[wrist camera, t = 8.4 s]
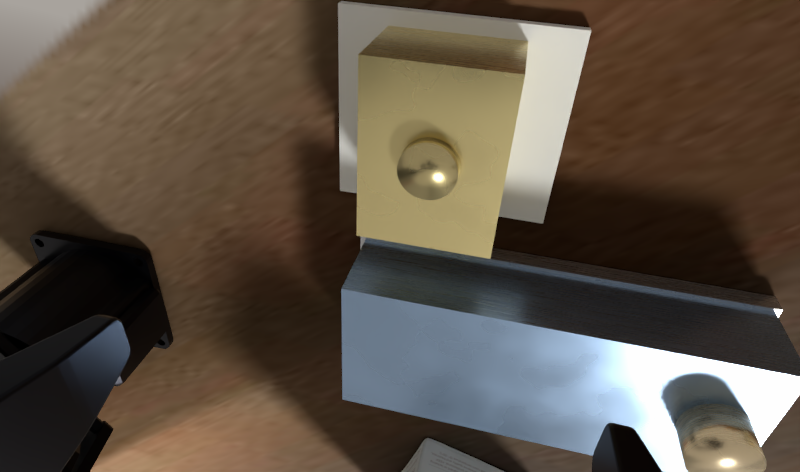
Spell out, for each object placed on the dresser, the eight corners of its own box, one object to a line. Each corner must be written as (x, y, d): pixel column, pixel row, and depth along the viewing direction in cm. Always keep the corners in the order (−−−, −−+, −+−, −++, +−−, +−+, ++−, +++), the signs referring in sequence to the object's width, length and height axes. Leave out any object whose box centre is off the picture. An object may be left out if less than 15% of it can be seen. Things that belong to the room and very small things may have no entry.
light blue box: (363, 335, 26) (326, 430, 22) (365, 225, 22) (321, 312, 18) (708, 406, 24) (746, 528, 19) (775, 296, 20) (842, 416, 16)
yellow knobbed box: (382, 186, 21) (352, 243, 17) (388, 25, 17) (352, 59, 14) (497, 204, 20) (488, 268, 17) (528, 41, 17) (524, 80, 13)
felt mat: (343, 185, 22) (339, 190, 21) (341, 0, 18) (338, 3, 17) (542, 218, 20) (542, 223, 20) (590, 27, 16) (591, 30, 16)
